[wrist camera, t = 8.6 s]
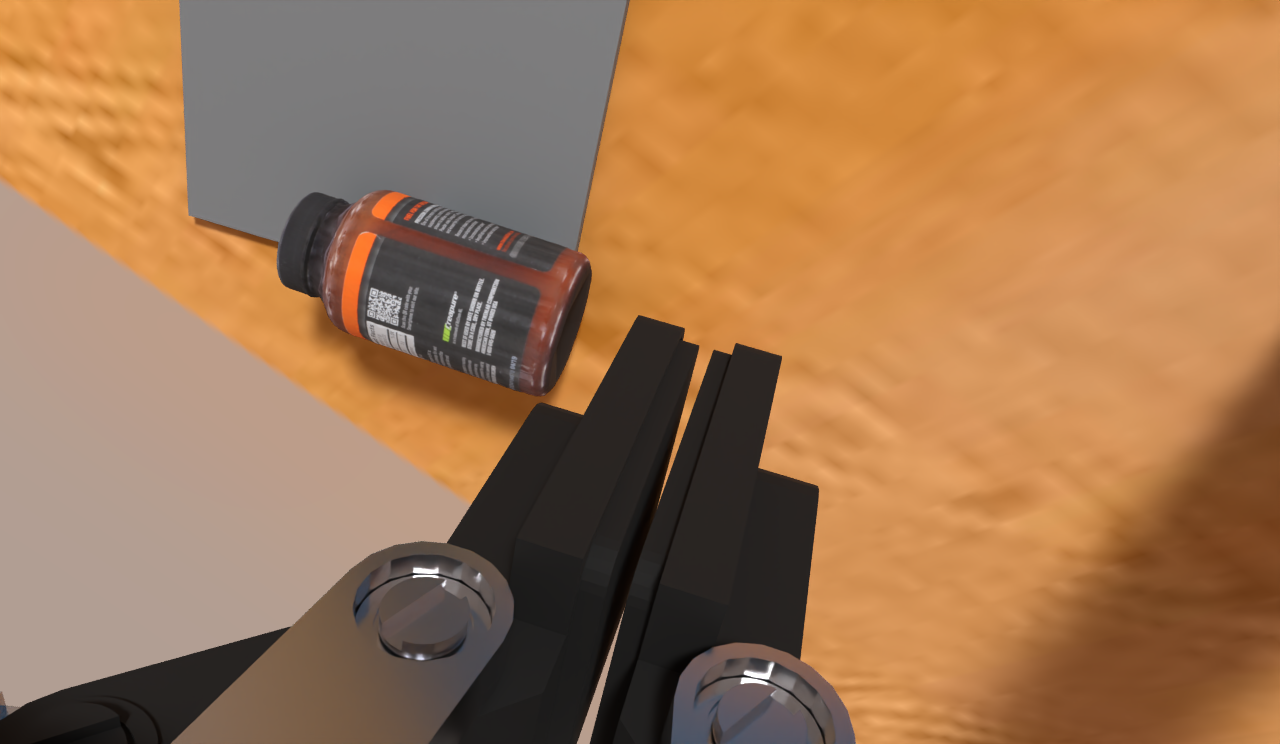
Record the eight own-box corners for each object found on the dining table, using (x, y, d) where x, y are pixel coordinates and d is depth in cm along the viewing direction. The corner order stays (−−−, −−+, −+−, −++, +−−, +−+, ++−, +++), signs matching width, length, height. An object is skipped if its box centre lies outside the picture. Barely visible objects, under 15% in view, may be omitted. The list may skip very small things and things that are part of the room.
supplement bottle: (602, 268, 39) (352, 182, 39) (590, 246, 33) (295, 145, 33) (556, 401, 39) (306, 314, 39) (535, 404, 33) (241, 300, 33)
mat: (639, -48, 32) (636, -47, 31) (563, 319, 40) (559, 325, 39) (182, -175, 33) (171, -176, 32) (196, 210, 40) (188, 215, 40)
